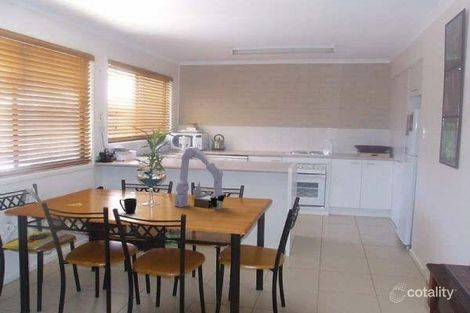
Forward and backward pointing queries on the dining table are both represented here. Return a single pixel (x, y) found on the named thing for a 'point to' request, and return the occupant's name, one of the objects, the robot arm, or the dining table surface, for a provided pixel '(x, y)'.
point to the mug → (129, 205)
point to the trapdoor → (204, 197)
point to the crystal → (199, 191)
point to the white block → (218, 205)
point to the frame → (202, 203)
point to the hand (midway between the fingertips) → (217, 206)
